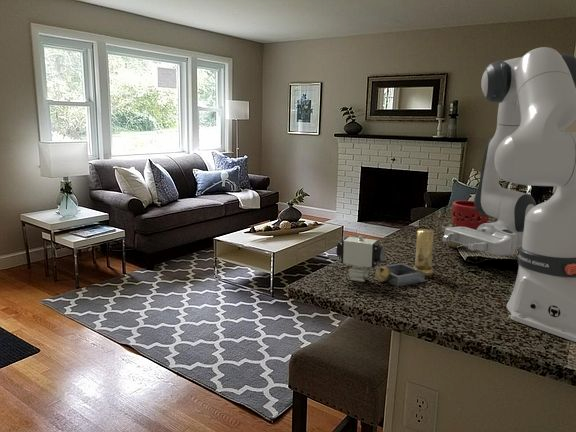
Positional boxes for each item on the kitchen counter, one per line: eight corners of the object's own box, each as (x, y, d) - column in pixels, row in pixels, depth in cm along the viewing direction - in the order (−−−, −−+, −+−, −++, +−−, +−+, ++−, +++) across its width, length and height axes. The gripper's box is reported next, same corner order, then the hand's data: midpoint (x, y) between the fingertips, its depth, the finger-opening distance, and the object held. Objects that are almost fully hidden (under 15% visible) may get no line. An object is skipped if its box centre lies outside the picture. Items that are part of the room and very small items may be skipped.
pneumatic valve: (378, 286, 113) (380, 240, 111) (335, 279, 118) (336, 235, 116) (384, 279, 118) (386, 236, 115) (342, 273, 123) (343, 231, 121)
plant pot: (453, 237, 162) (456, 205, 160) (447, 229, 175) (449, 199, 172) (491, 239, 160) (494, 206, 157) (482, 231, 173) (485, 200, 170)
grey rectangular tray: (424, 281, 117) (425, 267, 116) (390, 287, 112) (391, 273, 111) (401, 271, 125) (402, 258, 124) (369, 277, 120) (369, 263, 119)
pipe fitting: (436, 274, 122) (439, 232, 120) (422, 277, 120) (425, 234, 118) (423, 268, 127) (426, 228, 124) (409, 271, 125) (411, 229, 122)
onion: (455, 251, 145) (457, 227, 143) (438, 245, 152) (440, 222, 151) (473, 248, 148) (475, 225, 146) (455, 243, 155) (457, 220, 153)
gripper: (464, 220, 142) (431, 224, 136) (522, 235, 124) (486, 240, 118) (462, 239, 143) (429, 244, 137) (519, 256, 125) (484, 263, 119)
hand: (456, 242), depth 127 cm, fingers open, 8 cm apart
